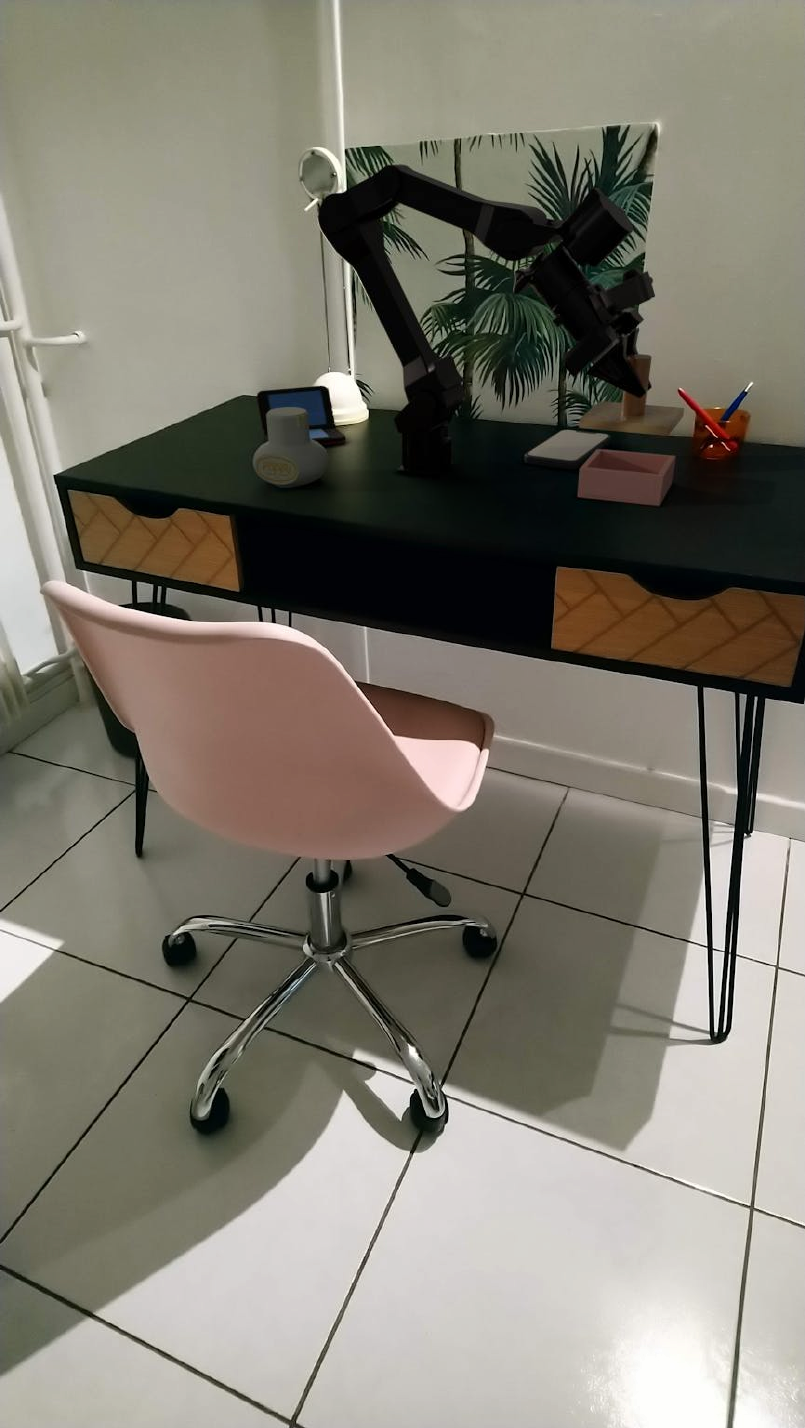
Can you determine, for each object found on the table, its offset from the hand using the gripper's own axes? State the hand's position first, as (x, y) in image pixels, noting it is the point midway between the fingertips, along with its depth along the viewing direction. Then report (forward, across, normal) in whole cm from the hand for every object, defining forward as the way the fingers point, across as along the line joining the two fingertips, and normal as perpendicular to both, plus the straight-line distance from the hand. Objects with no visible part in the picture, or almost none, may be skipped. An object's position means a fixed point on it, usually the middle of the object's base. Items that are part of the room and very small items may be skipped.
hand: (645, 392), depth 115 cm
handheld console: (-31, +9, +51) cm, 60 cm away
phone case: (0, +16, +19) cm, 25 cm away
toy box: (+8, +2, +10) cm, 14 cm away
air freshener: (-24, -12, +43) cm, 51 cm away
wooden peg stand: (+2, 0, +4) cm, 4 cm away
